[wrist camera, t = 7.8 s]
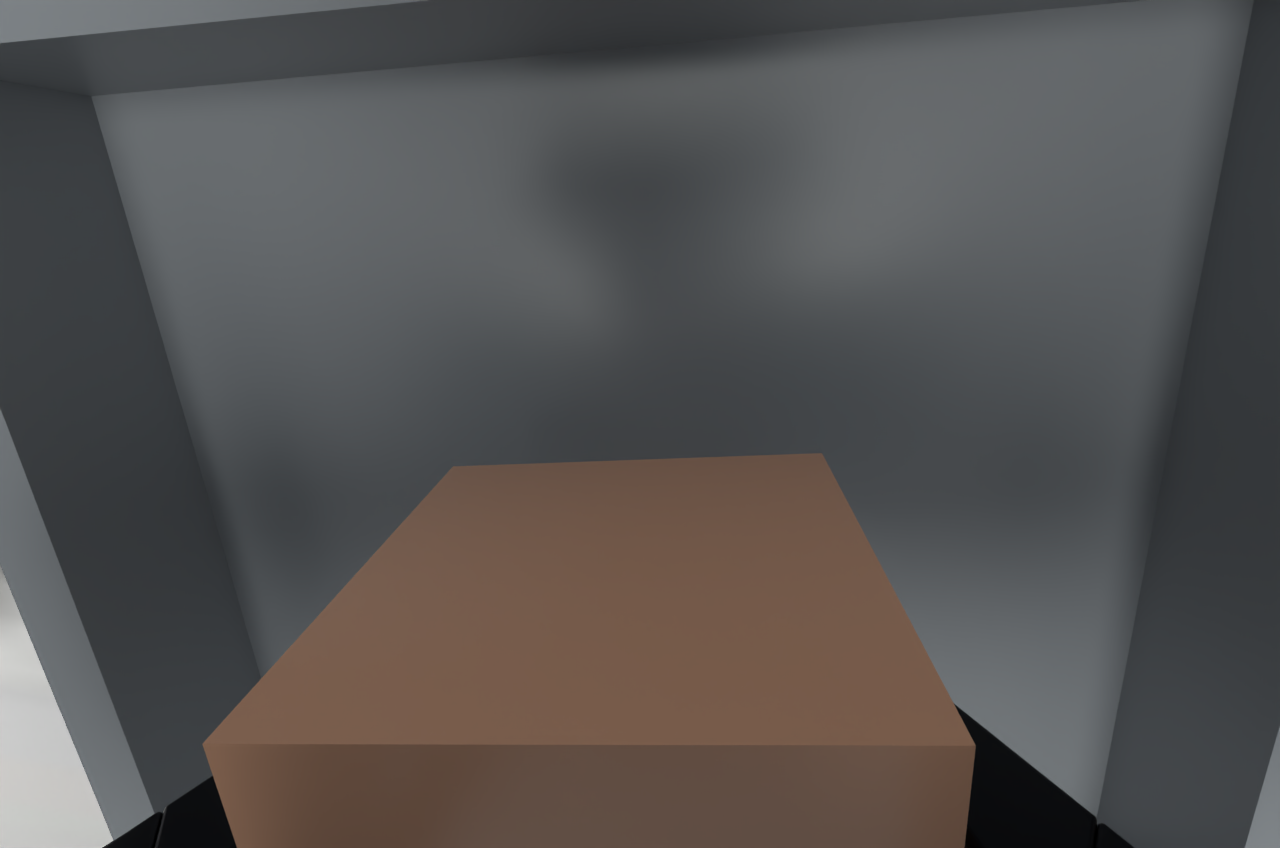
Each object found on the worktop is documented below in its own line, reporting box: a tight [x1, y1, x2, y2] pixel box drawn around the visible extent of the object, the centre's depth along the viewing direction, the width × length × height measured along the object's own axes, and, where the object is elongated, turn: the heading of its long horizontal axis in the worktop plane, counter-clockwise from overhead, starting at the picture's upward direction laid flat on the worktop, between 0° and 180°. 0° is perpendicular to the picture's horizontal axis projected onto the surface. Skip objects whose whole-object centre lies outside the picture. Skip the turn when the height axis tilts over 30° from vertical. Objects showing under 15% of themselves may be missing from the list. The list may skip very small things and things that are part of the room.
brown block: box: [202, 453, 976, 848], centre depth 7 cm, size 5×5×5 cm
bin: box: [0, 0, 1280, 848], centre depth 12 cm, size 20×18×4 cm
